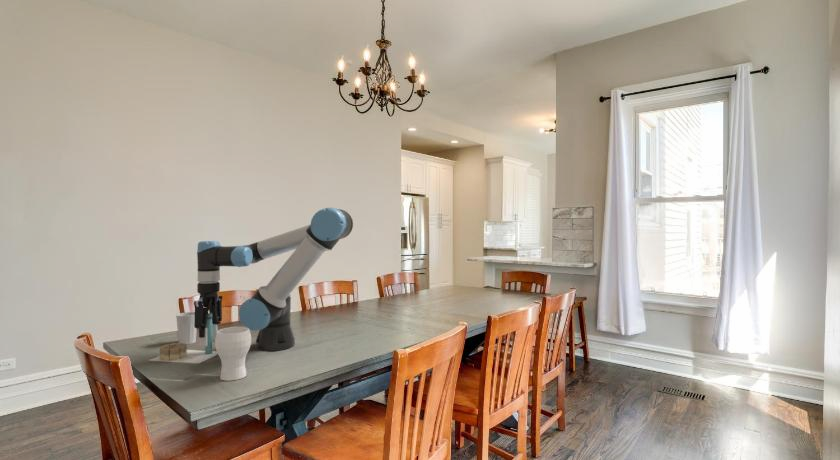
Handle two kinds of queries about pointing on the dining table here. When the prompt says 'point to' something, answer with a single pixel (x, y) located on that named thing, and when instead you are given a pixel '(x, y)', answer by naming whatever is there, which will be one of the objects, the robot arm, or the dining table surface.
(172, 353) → the bead
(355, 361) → the dining table surface
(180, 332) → the cup
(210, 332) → the teal marker pen
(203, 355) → the mat
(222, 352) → the cup
